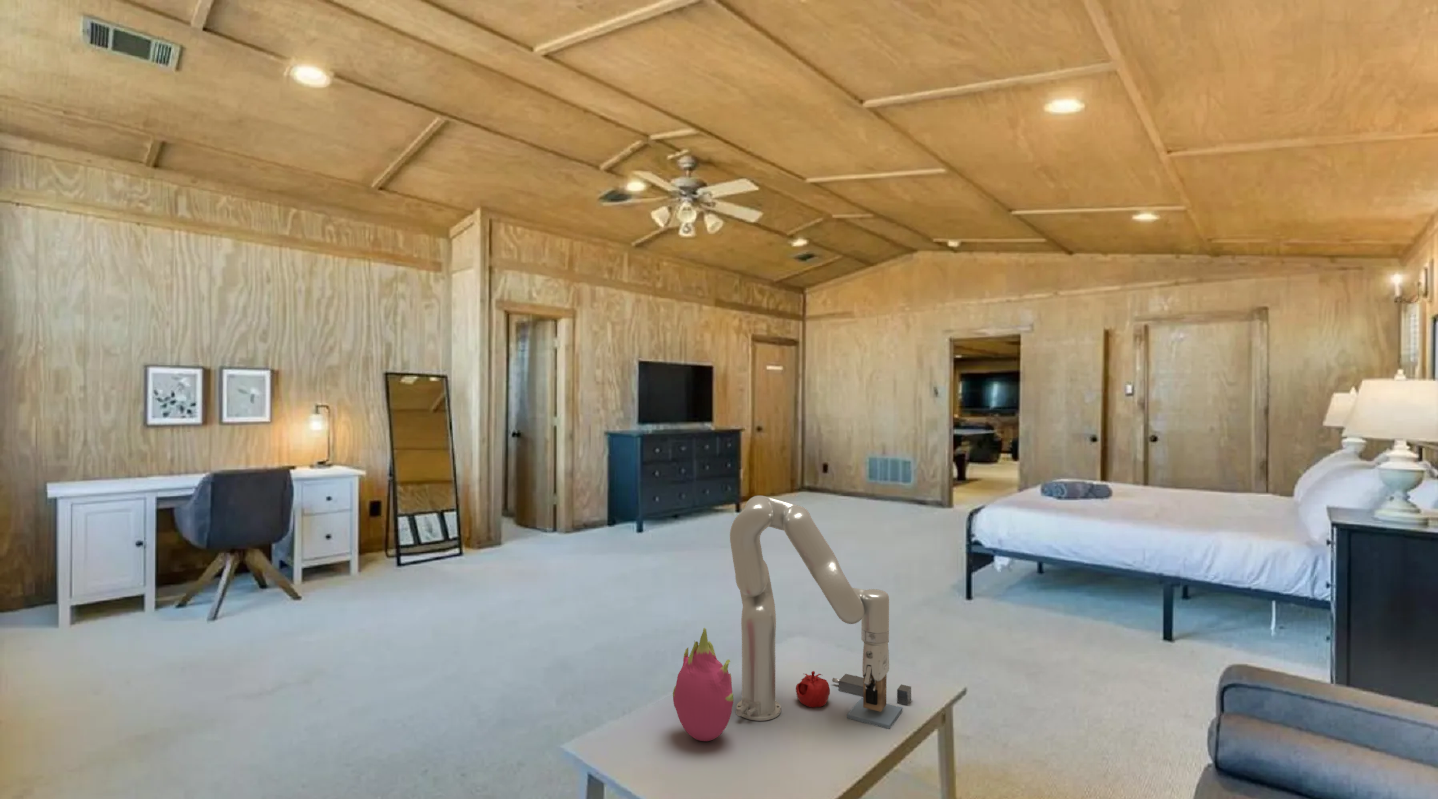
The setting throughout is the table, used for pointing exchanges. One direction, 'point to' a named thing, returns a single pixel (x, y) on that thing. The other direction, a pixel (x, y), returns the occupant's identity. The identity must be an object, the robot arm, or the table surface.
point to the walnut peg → (880, 695)
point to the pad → (875, 715)
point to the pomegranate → (813, 690)
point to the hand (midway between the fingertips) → (874, 699)
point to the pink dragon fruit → (703, 692)
